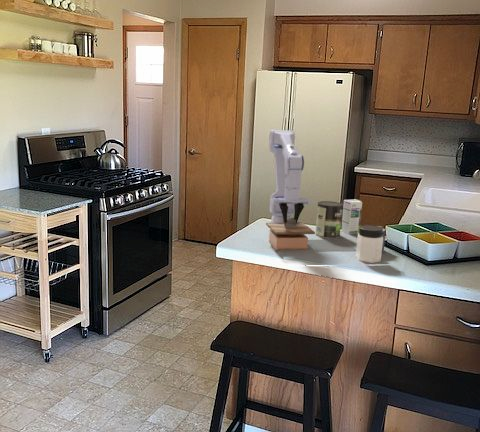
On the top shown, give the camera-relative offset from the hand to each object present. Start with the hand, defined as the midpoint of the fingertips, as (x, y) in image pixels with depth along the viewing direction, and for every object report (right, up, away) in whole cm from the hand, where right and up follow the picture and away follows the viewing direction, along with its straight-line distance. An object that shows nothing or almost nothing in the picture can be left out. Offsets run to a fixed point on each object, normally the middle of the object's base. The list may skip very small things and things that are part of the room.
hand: (290, 222), depth 193 cm
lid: (0, -3, +1) cm, 3 cm away
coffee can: (+17, -6, +19) cm, 27 cm away
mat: (+16, -9, +4) cm, 19 cm away
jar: (+27, -14, -11) cm, 32 cm away
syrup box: (+28, -5, +26) cm, 39 cm away
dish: (-1, -9, +2) cm, 9 cm away
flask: (+32, -12, -2) cm, 34 cm away
